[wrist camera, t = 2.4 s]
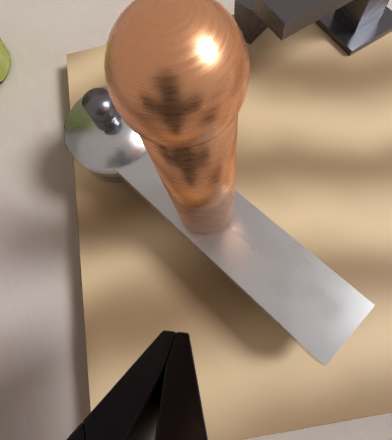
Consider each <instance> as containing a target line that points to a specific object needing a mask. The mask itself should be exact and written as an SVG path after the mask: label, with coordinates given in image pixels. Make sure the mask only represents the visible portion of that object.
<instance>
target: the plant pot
mask: <svg viewBox="0 0 392 440" xmlns="http://www.w3.org/2000/svg"><path fill="white" fill-rule="evenodd" d="M10 63H11V60H10V54H9V52H8V50H7V48H6V47H5V45H4V43H3V42H2V40H1V39H0V82H2V81H4V79H5V78H6V76H7V74H8V72H9V69H10Z"/></svg>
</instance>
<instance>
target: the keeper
mask: <svg viewBox="0 0 392 440" xmlns="http://www.w3.org/2000/svg"><path fill="white" fill-rule="evenodd" d="M388 2H389V0H235V15H234V19H235V21H236V22H237V24H238V26H239V28H240V30H241V31H242V34H243V36H244V39H245V42H246V43H248V44H251V43H252V42H253V41H254V40H255V39H256V38H257V37H258V36H259V35H260V34H261V33H262V32H263V31H264V30H265V29H266V28H267V27H269V28H270V29H271V30H272V31H273V32H274V33H275V35H276V36H277V37H278V38H279V39H280V40H281V41H282V40H284V39H286V38H287V37H289V36H291V35H293V34H294V33H296V32H298V31H300V30H301V29H303V28H305V27H307V26H309V25H310V24H312V23H314V22H315V23H316V24H317V25H318V26H319V27H320V28H321V29H322V30H323V31H324V32H325V33H326V34H327V35H328V36H329V37H330V38H331V39H332V40H333V41H334V42H335V43H336V44H337V45H339V46H340V47H341V48H342V49H343V50H344V51H345V52H346V53H347V54H348V55H349V56H351V55H352V54H354V53H356V52H357V51H359V50H361V49H363V48H364V47H366V46H368V45H370V44H371V43H373V42H375V41H376V40H378V39H380V38H382V37H383V36H385V35H387V34H388V33H390V32H392V11H391V10H390V9H389V8H388V7H386V6H387V4H388Z"/></svg>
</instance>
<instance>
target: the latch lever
mask: <svg viewBox="0 0 392 440" xmlns="http://www.w3.org/2000/svg"><path fill="white" fill-rule="evenodd" d="M104 73H105V81H106V85H105V86H102V87H99V88H104V89H106V90H107V91H108V93H109V96H110V99H111V101H112V103H113V105H114V107H115V109H116V111H117V112H118V114H119V115H120V117H121V121H120V123H119V125H118V126H117V127H116V128H114V129H112V130H110V131H102V130H100V129H98V128H97V126H96V125H95V124H94V122H93V121H92V119H91V118H90V116H89V115H88V114H87V112H86V111H85V109H84V108H83V106H82V98H83V97H82V98H80V99H79V100H78V101H77V102H76V104H75V105H74V106H73V107H72V109H71V110H70V112H69V114H68V116H67V118H66V121H65V126H64V139H65V143H66V146H67V148H68V150H69V151H70V153H71V154H72V155H73V156H74V157H75V158H76V159H77V160H78V161H79V163H80V164H81V165H82V166H83V167H84V168H85V169H86V170H87V171H88V172H89V173H90V174H92V175H93V176H94V177H96V178H98V179H100V180H102V181H106V182H112V183H121V182H125V183H127V184H128V185H129V186H130V187H131V188H132V189H133V190H134V191H135V192H136V193H137V194H138V195H139V196H140V197H141V198H142V199H144V200H145V201H146V202H147V203H148V204H149V205H150V206H151V207H152V208H153V209H154V210H155V211H156V212H157V213H158V214H159V215H161V216H162V217H163V218H164V219H165V220H166V221H167V222H168V223H169V224H170V225H171V226H172V227H173V228H174V229H175V230H176V231H178V232H179V233H180V234H181V235H182V236H183V237H184V238H185V239H186V240H187V241H188V242H189V243H190V244H191V245H192V246H193V247H195V248H196V249H197V250H198V251H199V252H200V253H201V254H202V255H203V256H204V257H205V258H206V259H207V260H208V261H209V262H210V263H212V264H213V265H214V266H215V267H216V268H217V269H218V270H219V271H220V272H221V273H222V274H223V275H224V276H225V277H226V278H227V279H229V280H230V281H231V282H232V283H233V284H234V285H235V286H236V287H237V288H238V289H239V290H240V291H241V292H242V293H243V294H244V295H246V296H247V297H248V298H249V299H250V300H251V301H252V302H253V303H254V304H255V305H256V306H257V307H258V308H259V309H260V310H261V311H262V312H264V313H265V314H266V315H267V316H268V317H269V318H270V319H271V320H272V321H273V322H274V323H275V324H276V325H277V326H278V327H279V328H281V329H282V330H283V331H284V332H285V333H286V334H287V335H288V336H289V337H290V338H291V339H292V340H293V341H294V342H295V343H296V344H298V345H299V346H300V347H301V348H302V349H303V350H304V351H305V352H306V353H307V354H308V355H309V356H310V357H311V358H312V359H313V360H315V361H316V362H318V363H320V364H322V365H324V366H326V365H327V364H328V362H329V361H330V360H331V359H332V358H333V356H334V355H335V354H336V353H337V351H338V350H339V349H340V348H341V347H342V345H343V344H344V343H345V342H346V340H347V339H348V338H349V337H350V335H351V334H352V333H353V332H354V331H355V329H356V328H357V327H358V326H359V324H360V323H361V322H362V321H363V320H364V318H365V317H366V316H367V315H368V313H369V312H370V311H371V310H372V309H373V307H374V306H375V305H374V304H373V303H372V302H370V301H369V300H368V299H367V298H366V297H364V296H363V295H362V294H361V293H360V292H358V291H357V290H356V289H355V288H353V287H352V286H351V285H350V284H349V283H347V282H346V281H345V280H344V279H343V278H341V277H340V276H339V275H338V274H336V273H335V272H334V271H333V270H332V269H330V268H329V267H328V266H327V265H326V264H324V263H323V262H322V261H321V260H319V259H318V258H317V257H316V256H315V255H313V254H312V253H311V252H310V251H309V250H307V249H306V248H305V247H304V246H303V245H301V244H300V243H299V242H298V241H296V240H295V239H294V238H293V237H292V236H290V235H289V234H288V233H287V232H286V231H284V230H283V229H282V228H281V227H279V226H278V225H277V224H276V223H275V222H273V221H272V220H271V219H270V218H269V217H267V216H266V215H265V214H264V213H262V212H261V211H260V210H259V209H258V208H256V207H255V206H254V205H253V204H252V203H250V202H249V201H248V200H247V199H245V198H244V197H243V196H242V195H241V194H239V193H238V192H237V191H236V190H235V170H236V149H237V128H238V113H239V111H240V109H241V107H242V105H243V103H244V100H245V97H246V94H247V90H248V85H249V79H250V61H249V55H248V49H247V45H246V42H245V39H244V36H243V34H242V31H241V30H240V28H239V26H238V24H237V22H236V21H235V19H234V18H233V17H232V15H231V14H230V13H229V12H228V11H227V9H226V8H225V7H224V6H223V5H221V4H220V3H219V2H218V1H216V0H134V1H133V2H132V3H131V4H130V5H129V6H128V7H127V8H126V9H125V10H124V11H123V12H122V13H121V14H120V16H119V17H118V19H117V20H116V22H115V24H114V26H113V28H112V30H111V32H110V35H109V38H108V41H107V45H106V50H105V58H104Z"/></svg>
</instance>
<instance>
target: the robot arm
mask: <svg viewBox="0 0 392 440" xmlns="http://www.w3.org/2000/svg"><path fill="white" fill-rule="evenodd" d="M83 422H84V424H83V423H81V424H80V425H79V426H78V427H77V428H76V429H75V431H74V432H73V433H72V434H71V435H70V436H69V437H68V438H67V439H66V440H208V436H207V431H206V425H205V420H204V414H203V408H202V403H201V397H200V392H199V386H198V380H197V375H196V369H195V364H194V358H193V352H192V347H191V341H190V336H189V334H188V333H184V332H177V333H176V332H174V331H168V330H164V331H162V332H161V333H160V334H159V335H158V336H157V338H156V339H155V340H154V341H153V342H152V343H151V344H150V346H149V347H148V348H147V349H146V350H145V351H144V352H143V353H142V355H141V356H140V357H139V358H138V359H137V360H136V361H135V363H134V364H133V365H132V366H131V367H130V368H129V369H128V371H127V372H126V373H125V374H124V375H123V376H122V377H121V378H120V380H119V381H118V382H117V383H116V384H115V385H114V386H113V388H112V389H111V390H110V391H109V392H108V393H107V394H106V396H105V397H104V398H103V399H102V400H101V401H100V402H99V403H98V405H97V406H96V407H95V408H94V409H93V410H92V411H91V413H90V414H89V415H88V416H87V417H86V418H85V419H84V421H83Z"/></svg>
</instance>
